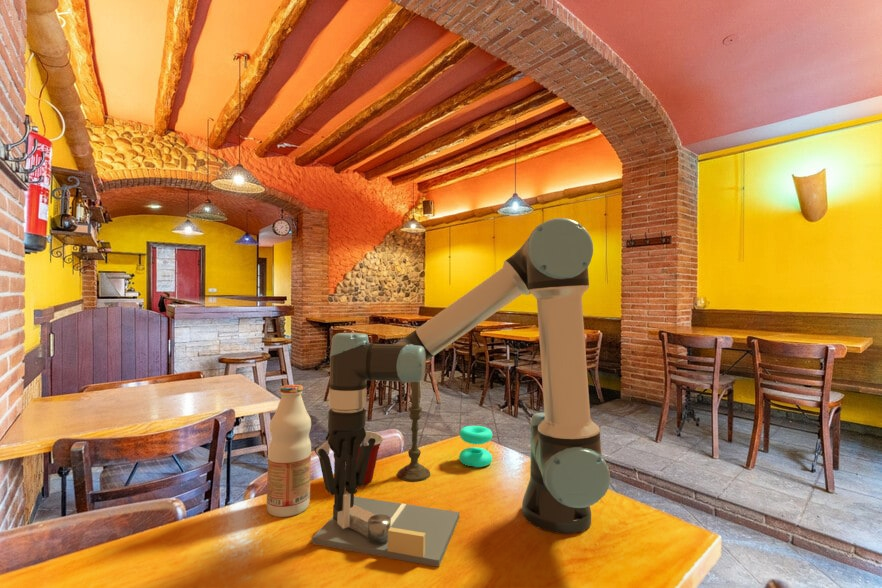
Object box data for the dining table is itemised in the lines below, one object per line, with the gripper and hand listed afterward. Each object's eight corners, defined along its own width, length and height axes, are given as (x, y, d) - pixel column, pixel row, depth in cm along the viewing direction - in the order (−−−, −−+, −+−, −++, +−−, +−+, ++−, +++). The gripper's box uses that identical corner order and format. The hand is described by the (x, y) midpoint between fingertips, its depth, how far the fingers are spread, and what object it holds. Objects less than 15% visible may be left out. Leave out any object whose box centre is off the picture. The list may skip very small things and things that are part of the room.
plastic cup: (373, 492, 103) (374, 444, 103) (334, 487, 105) (335, 440, 106) (387, 474, 114) (388, 431, 114) (351, 470, 116) (352, 428, 116)
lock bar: (395, 535, 81) (395, 519, 81) (378, 545, 77) (379, 528, 77) (347, 511, 90) (347, 497, 90) (330, 520, 86) (331, 504, 86)
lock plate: (459, 517, 91) (459, 495, 92) (438, 567, 74) (439, 539, 74) (353, 501, 98) (354, 480, 98) (311, 543, 81) (312, 517, 81)
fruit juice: (261, 519, 89) (265, 390, 90) (271, 499, 98) (274, 382, 99) (306, 516, 91) (310, 390, 92) (312, 496, 100) (315, 382, 101)
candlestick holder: (394, 469, 117) (397, 365, 118) (425, 466, 120) (427, 364, 121) (401, 483, 108) (403, 370, 109) (434, 479, 111) (436, 369, 112)
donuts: (483, 423, 131) (498, 432, 121) (483, 454, 130) (497, 466, 121) (454, 425, 127) (467, 435, 118) (454, 458, 127) (466, 470, 118)
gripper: (365, 400, 91) (362, 508, 90) (309, 408, 83) (305, 527, 82) (383, 407, 85) (380, 522, 85) (325, 416, 77) (321, 544, 76)
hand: (343, 524), depth 83 cm, fingers closed
